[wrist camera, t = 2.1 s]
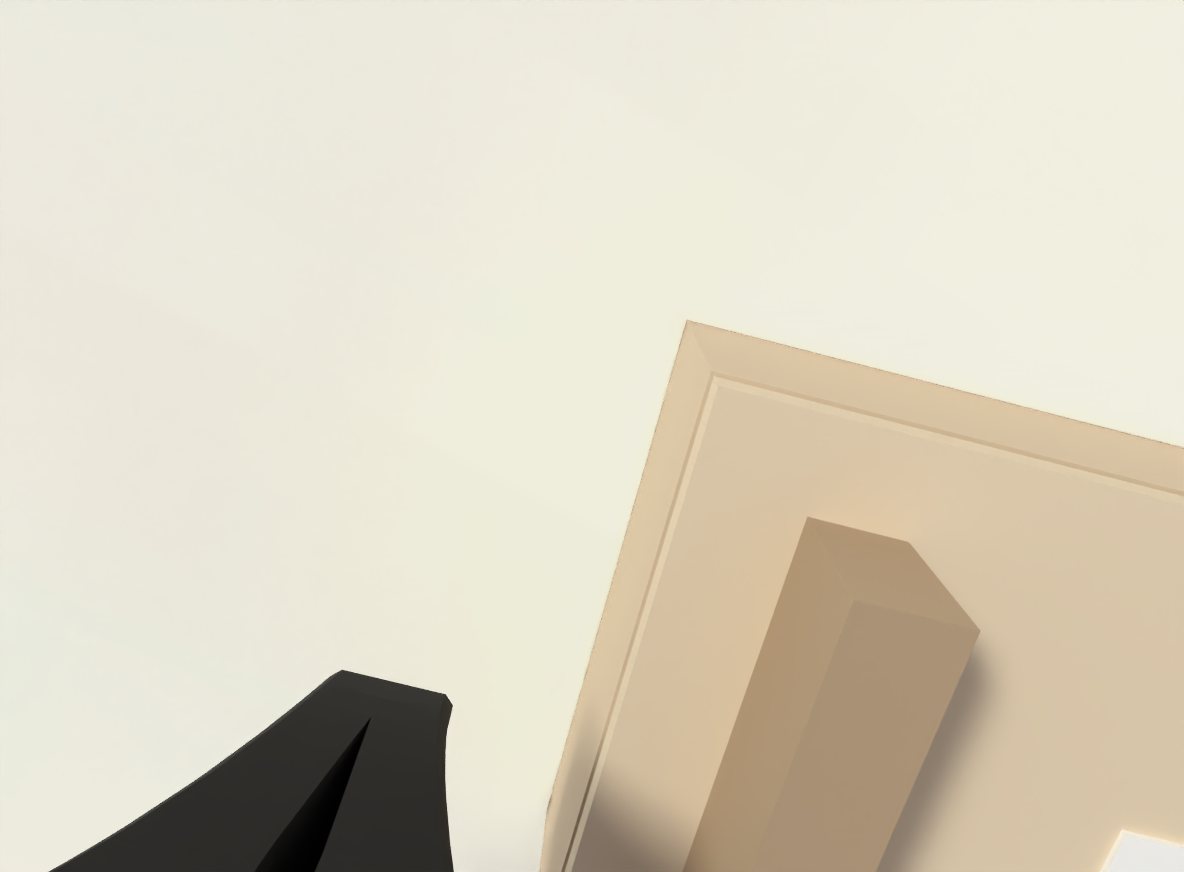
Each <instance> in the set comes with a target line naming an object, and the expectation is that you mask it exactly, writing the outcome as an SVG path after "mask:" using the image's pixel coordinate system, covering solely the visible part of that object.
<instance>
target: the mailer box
mask: <svg viewBox="0 0 1184 872" xmlns="http://www.w3.org/2000/svg"><path fill="white" fill-rule="evenodd" d="M714 376H715V377H719V378H723V379H727V380H731V381H735V382H739V383H743V384H747V385H751V386H755V387H758V388H762V389H766V390H770V391H774V392H778V393H782V394H786V395H790V396H794V397H797V398H801V399H805V400H809V401H813V402H817V403H821V404H825V405H829V406H833V407H837V408H840V409H844V410H848V411H852V412H856V413H860V414H864V415H868V416H872V417H876V418H880V419H883V420H887V421H891V422H895V423H899V424H903V425H907V426H911V427H915V428H919V429H923V430H926V431H930V432H934V433H938V434H942V435H946V436H950V437H954V438H958V439H962V440H966V441H969V442H973V443H977V444H981V445H985V446H989V447H993V448H997V449H1001V450H1005V451H1008V452H1012V453H1016V454H1020V455H1024V456H1028V457H1032V458H1036V459H1040V460H1044V461H1048V462H1051V463H1055V464H1059V465H1063V466H1067V467H1071V468H1075V469H1079V470H1083V471H1087V472H1091V473H1094V474H1098V475H1102V476H1106V477H1110V478H1114V479H1118V480H1122V481H1126V482H1130V483H1134V484H1137V485H1141V486H1145V487H1149V488H1153V489H1157V490H1161V491H1165V492H1169V493H1173V494H1177V495H1180V496H1184V448H1181V447H1177V446H1173V445H1170V444H1166V443H1162V442H1158V441H1154V440H1150V439H1146V438H1142V437H1139V436H1135V435H1131V434H1127V433H1123V432H1119V431H1115V430H1111V429H1108V428H1104V427H1100V426H1096V425H1092V424H1088V423H1084V422H1080V421H1077V420H1073V419H1069V418H1065V417H1061V416H1057V415H1053V414H1049V413H1046V412H1042V411H1038V410H1034V409H1030V408H1026V407H1022V406H1018V405H1015V404H1011V403H1007V402H1003V401H999V400H995V399H991V398H987V397H984V396H980V395H976V394H972V393H968V392H964V391H960V390H956V389H953V388H949V387H945V386H941V385H937V384H933V383H929V382H925V381H922V380H918V379H914V378H910V377H906V376H902V375H898V374H894V373H891V372H887V371H883V370H879V369H875V368H871V367H867V366H863V365H860V364H856V363H852V362H848V361H844V360H840V359H836V358H832V357H829V356H825V355H821V354H817V353H813V352H809V351H805V350H801V349H798V348H794V347H790V346H786V345H782V344H778V343H774V342H770V341H767V340H763V339H759V338H755V337H751V336H747V335H743V334H739V333H736V332H732V331H728V330H724V329H720V328H716V327H712V326H708V325H705V324H701V323H697V322H693V321H689V320H687V321H686V324H685V328H684V332H683V335H682V339H681V342H680V346H679V349H678V353H677V356H676V360H675V363H674V367H673V370H672V374H671V377H670V381H669V384H668V388H667V391H666V395H665V398H664V402H663V405H662V409H661V412H660V416H659V419H658V423H657V426H656V430H655V433H654V437H653V440H652V444H651V447H650V451H649V454H648V458H647V461H646V465H645V468H644V472H643V475H642V479H641V482H640V486H639V489H638V493H637V496H636V500H635V503H634V507H633V510H632V514H631V517H630V521H629V524H628V528H627V531H626V535H625V538H624V542H623V545H622V549H621V552H620V556H619V559H618V563H617V566H616V570H615V573H614V577H613V580H612V584H611V587H610V591H609V594H608V598H607V601H606V605H605V608H604V612H603V615H602V619H601V622H600V626H599V629H598V633H597V636H596V640H595V643H594V647H593V650H592V654H591V657H590V661H589V664H588V668H587V671H586V675H585V678H584V682H583V685H582V689H581V692H580V696H579V699H578V703H577V706H576V710H575V713H574V717H573V720H572V724H571V727H570V731H569V734H568V738H567V741H566V745H565V748H564V752H563V755H562V759H561V762H560V766H559V770H558V773H557V777H556V780H555V784H554V787H553V791H552V794H551V798H550V801H549V805H548V808H547V814H546V822H545V830H544V838H543V846H542V854H541V862H540V870H539V872H565V869H566V866H567V863H568V859H569V856H570V853H571V849H572V846H573V843H574V839H575V836H576V833H577V829H578V826H579V823H580V819H581V816H582V813H583V809H584V806H585V803H586V799H587V796H588V793H589V789H590V786H591V783H592V779H593V776H594V773H595V770H596V766H597V763H598V760H599V756H600V753H601V750H602V746H603V743H604V740H605V736H606V733H607V730H608V726H609V723H610V720H611V716H612V713H613V710H614V706H615V703H616V700H617V696H618V693H619V690H620V686H621V683H622V680H623V676H624V673H625V670H626V666H627V663H628V660H629V656H630V653H631V650H632V646H633V643H634V640H635V636H636V633H637V630H638V627H639V623H640V620H641V617H642V613H643V610H644V607H645V603H646V600H647V597H648V593H649V590H650V587H651V583H652V580H653V577H654V573H655V570H656V567H657V563H658V560H659V557H660V553H661V550H662V547H663V543H664V540H665V537H666V533H667V530H668V527H669V523H670V520H671V517H672V513H673V510H674V507H675V503H676V500H677V497H678V494H679V490H680V487H681V484H682V480H683V477H684V474H685V470H686V467H687V464H688V460H689V457H690V454H691V450H692V447H693V444H694V440H695V437H696V434H697V430H698V427H699V424H700V420H701V417H702V414H703V410H704V407H705V404H706V400H707V397H708V394H709V390H710V387H711V384H712V380H713V377H714Z"/></svg>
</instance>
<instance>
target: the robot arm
mask: <svg viewBox="0 0 1184 872" xmlns="http://www.w3.org/2000/svg"><path fill="white" fill-rule="evenodd" d="M452 707H453V705H452V703H451V702H450V700H449V699H448V697H447V696H446V694H442V693H437V692H433V691H429V690H425V689H421V688H416V687H412V686H408V685H404V684H400V683H395V682H391V681H387V680H383V679H379V678H374V677H370V676H366V675H362V674H358V673H353V672H349V671H345V670H341V671H339V672H337V673H335V674H333V675H332V676H330V677H329V678H328V679H327V680H325V681H324V682H323V683H322V684H321V685H319V686H318V687H317V688H316V689H315V690H313V691H312V692H311V693H310V694H309V695H307V696H306V697H305V698H304V699H303V700H301V701H300V702H299V703H298V704H296V705H295V706H294V707H293V708H292V709H290V710H289V711H288V712H287V713H285V714H284V715H283V716H281V717H280V718H279V719H278V720H276V721H275V722H274V723H273V724H271V725H270V726H269V727H267V728H266V729H265V730H264V731H262V732H261V733H260V734H258V735H257V736H256V737H254V738H253V739H252V740H250V741H249V742H248V743H246V744H245V745H243V746H242V747H241V748H239V749H238V750H237V751H235V752H234V753H233V754H231V755H230V756H228V757H227V758H226V759H224V760H223V761H222V762H220V763H219V764H218V765H216V766H215V767H213V768H212V769H211V770H209V771H208V772H206V773H205V774H204V775H202V776H201V777H199V778H198V779H196V780H195V781H194V782H192V783H191V784H189V785H188V786H186V787H185V788H183V789H182V790H180V791H178V792H177V793H175V794H174V795H172V796H171V797H169V798H168V799H166V800H165V801H163V802H162V803H160V804H159V805H157V806H156V807H154V808H153V809H151V810H150V811H148V812H147V813H145V814H144V815H142V816H140V817H139V818H137V819H136V820H134V821H133V822H131V823H130V824H128V825H127V826H125V827H124V828H122V829H120V830H119V831H117V832H115V833H114V834H112V835H111V836H109V837H107V838H106V839H104V840H102V841H101V842H99V843H97V844H96V845H94V846H92V847H91V848H89V849H87V850H86V851H84V852H82V853H80V854H79V855H77V856H75V857H74V858H72V859H70V860H68V861H67V862H65V863H63V864H62V865H60V866H58V867H56V868H54V869H53V870H51V871H49V872H454V870H453V863H452V855H451V847H450V838H449V826H448V815H447V803H446V786H445V749H446V735H447V728H448V724H449V720H450V716H451V711H452Z"/></svg>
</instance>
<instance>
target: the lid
mask: <svg viewBox="0 0 1184 872" xmlns="http://www.w3.org/2000/svg"><path fill="white" fill-rule="evenodd" d="M565 872H1184V496H1180V495H1177V494H1173V493H1169V492H1165V491H1161V490H1157V489H1153V488H1149V487H1145V486H1141V485H1137V484H1134V483H1130V482H1126V481H1122V480H1118V479H1114V478H1110V477H1106V476H1102V475H1098V474H1094V473H1091V472H1087V471H1083V470H1079V469H1075V468H1071V467H1067V466H1063V465H1059V464H1055V463H1051V462H1048V461H1044V460H1040V459H1036V458H1032V457H1028V456H1024V455H1020V454H1016V453H1012V452H1008V451H1005V450H1001V449H997V448H993V447H989V446H985V445H981V444H977V443H973V442H969V441H966V440H962V439H958V438H954V437H950V436H946V435H942V434H938V433H934V432H930V431H926V430H923V429H919V428H915V427H911V426H907V425H903V424H899V423H895V422H891V421H887V420H883V419H880V418H876V417H872V416H868V415H864V414H860V413H856V412H852V411H848V410H844V409H840V408H837V407H833V406H829V405H825V404H821V403H817V402H813V401H809V400H805V399H801V398H797V397H794V396H790V395H786V394H782V393H778V392H774V391H770V390H766V389H762V388H758V387H755V386H751V385H747V384H743V383H739V382H735V381H731V380H727V379H723V378H719V377H715V376H714V377H713V380H712V384H711V387H710V390H709V394H708V397H707V400H706V404H705V407H704V410H703V414H702V417H701V420H700V424H699V427H698V430H697V434H696V437H695V440H694V444H693V447H692V450H691V454H690V457H689V460H688V464H687V467H686V470H685V474H684V477H683V480H682V484H681V487H680V490H679V494H678V497H677V500H676V503H675V507H674V510H673V513H672V517H671V520H670V523H669V527H668V530H667V533H666V537H665V540H664V543H663V547H662V550H661V553H660V557H659V560H658V563H657V567H656V570H655V573H654V577H653V580H652V583H651V587H650V590H649V593H648V597H647V600H646V603H645V607H644V610H643V613H642V617H641V620H640V623H639V627H638V630H637V633H636V636H635V640H634V643H633V646H632V650H631V653H630V656H629V660H628V663H627V666H626V670H625V673H624V676H623V680H622V683H621V686H620V690H619V693H618V696H617V700H616V703H615V706H614V710H613V713H612V716H611V720H610V723H609V726H608V730H607V733H606V736H605V740H604V743H603V746H602V750H601V753H600V756H599V760H598V763H597V766H596V770H595V773H594V776H593V779H592V783H591V786H590V789H589V793H588V796H587V799H586V803H585V806H584V809H583V813H582V816H581V819H580V823H579V826H578V829H577V833H576V836H575V839H574V843H573V846H572V849H571V853H570V856H569V859H568V863H567V866H566V869H565Z"/></svg>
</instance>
